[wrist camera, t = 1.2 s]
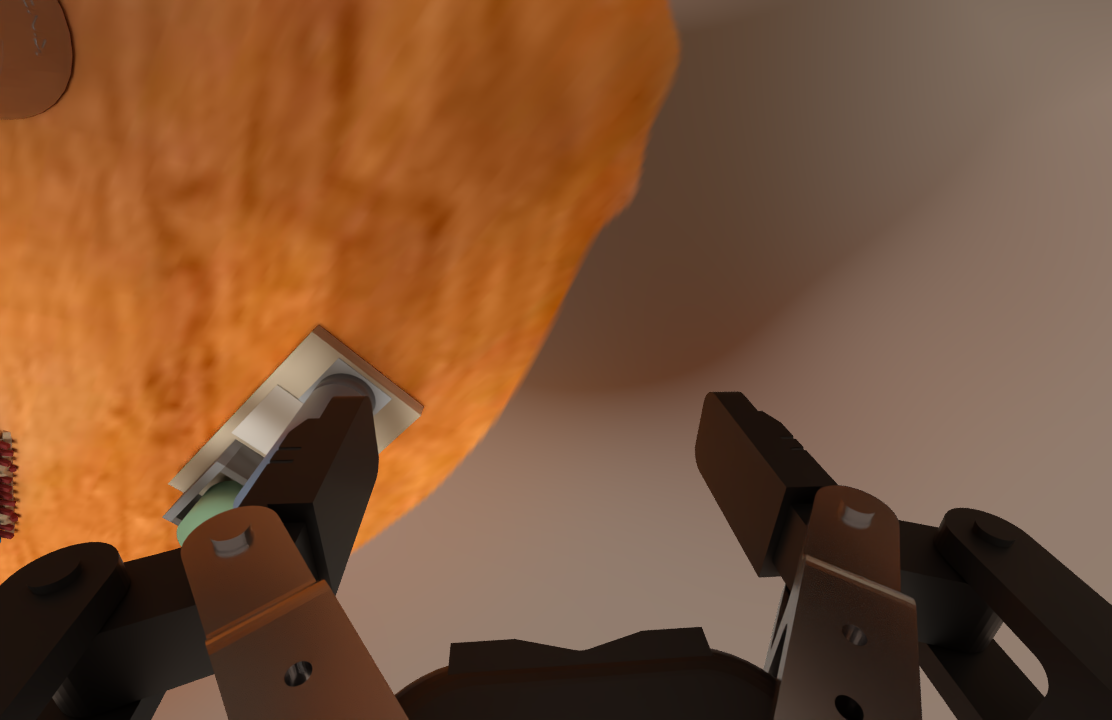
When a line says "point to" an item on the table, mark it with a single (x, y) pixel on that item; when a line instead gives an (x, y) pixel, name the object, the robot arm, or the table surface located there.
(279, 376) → the grey rectangular tray
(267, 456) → the ball
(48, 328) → the table surface
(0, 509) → the woven mat
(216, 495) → the button
